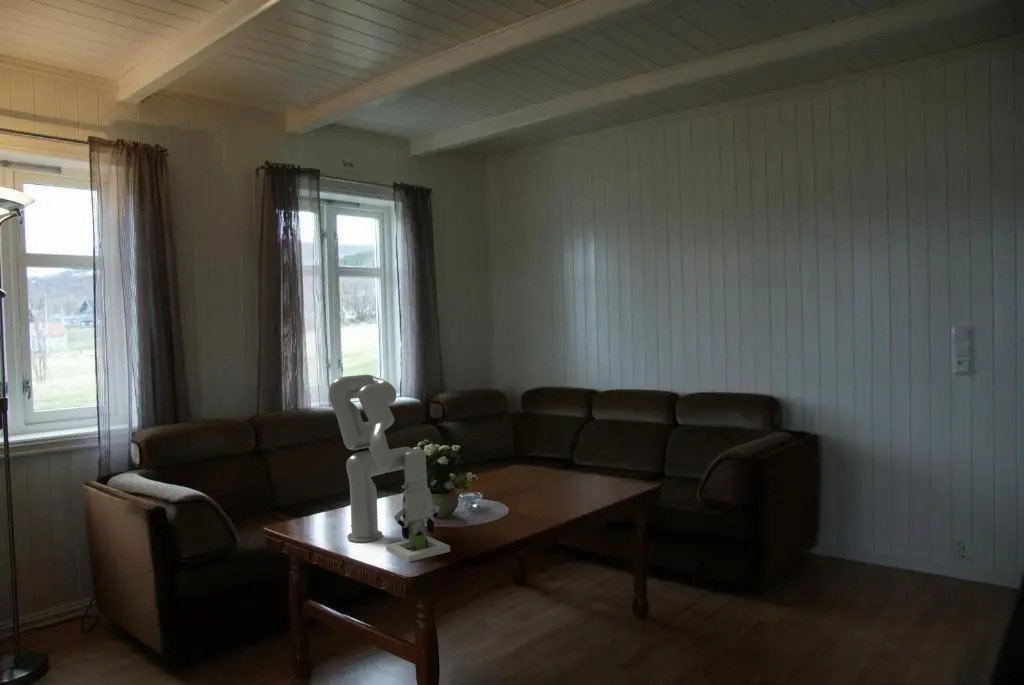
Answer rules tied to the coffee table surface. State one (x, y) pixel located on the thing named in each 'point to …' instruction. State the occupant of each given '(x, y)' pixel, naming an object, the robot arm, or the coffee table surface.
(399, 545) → the can holder
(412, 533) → the beverage can
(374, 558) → the coffee table surface
